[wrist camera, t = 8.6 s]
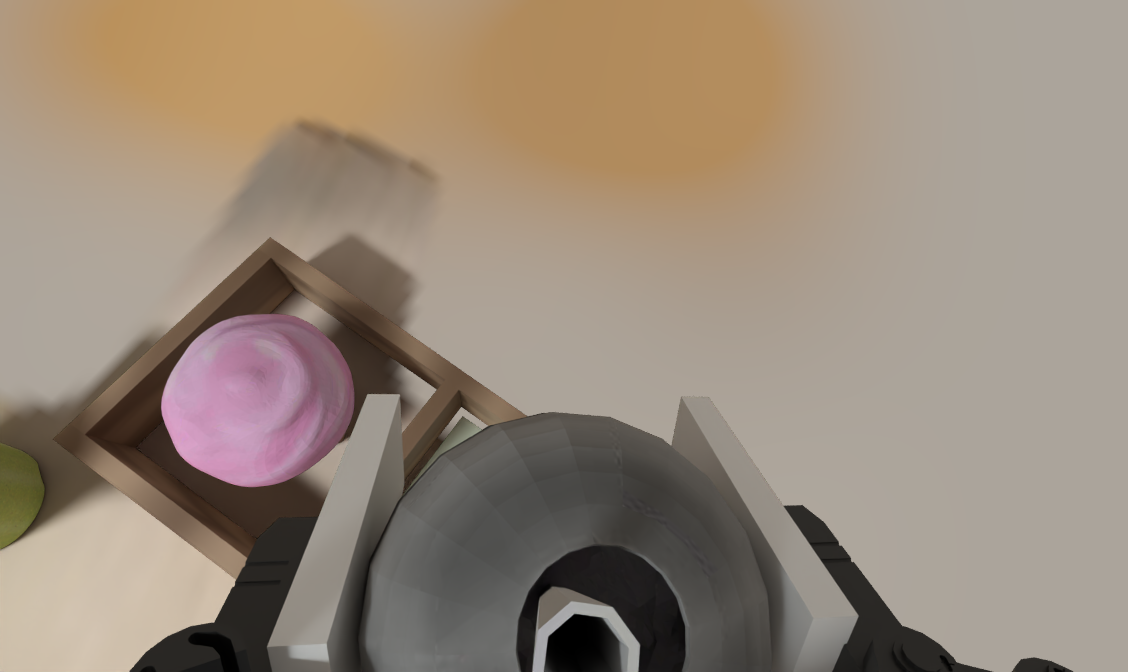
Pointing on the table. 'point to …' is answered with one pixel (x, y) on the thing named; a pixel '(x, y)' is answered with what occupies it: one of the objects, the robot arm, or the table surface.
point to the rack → (253, 290)
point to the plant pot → (18, 493)
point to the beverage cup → (564, 560)
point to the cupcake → (258, 399)
